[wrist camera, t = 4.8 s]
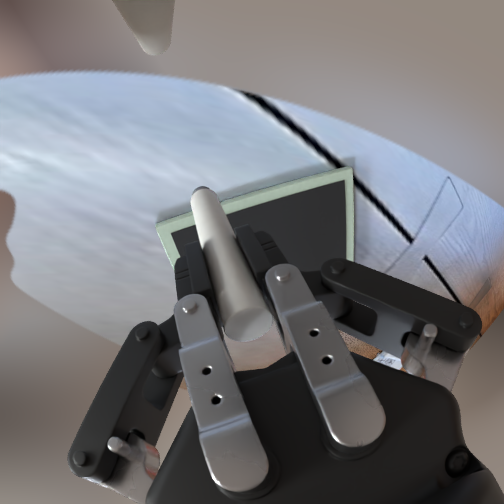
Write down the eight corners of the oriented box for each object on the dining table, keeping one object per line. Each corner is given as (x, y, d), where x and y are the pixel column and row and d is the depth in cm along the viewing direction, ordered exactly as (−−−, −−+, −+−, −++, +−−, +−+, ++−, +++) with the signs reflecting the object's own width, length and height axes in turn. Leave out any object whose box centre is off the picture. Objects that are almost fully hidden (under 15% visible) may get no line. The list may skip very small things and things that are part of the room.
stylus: (186, 187, 19) (217, 318, 9) (211, 179, 19) (270, 299, 9) (193, 210, 20) (231, 347, 10) (217, 202, 20) (276, 332, 10)
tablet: (155, 223, 29) (155, 227, 28) (348, 165, 32) (353, 168, 31) (200, 322, 38) (201, 327, 38) (350, 268, 41) (353, 271, 40)
